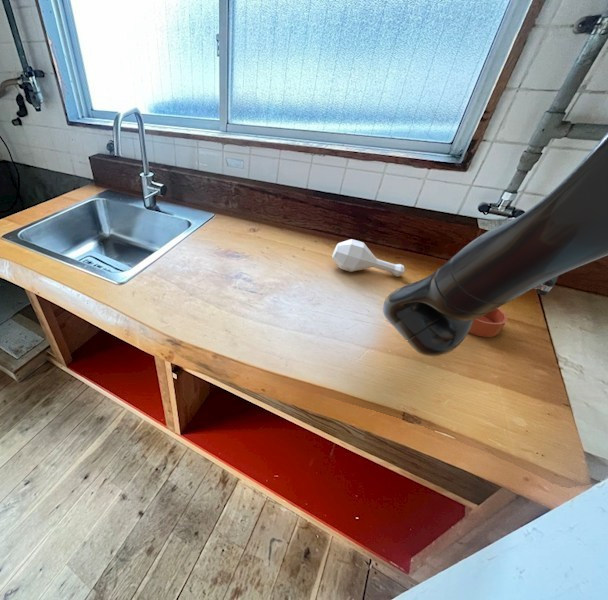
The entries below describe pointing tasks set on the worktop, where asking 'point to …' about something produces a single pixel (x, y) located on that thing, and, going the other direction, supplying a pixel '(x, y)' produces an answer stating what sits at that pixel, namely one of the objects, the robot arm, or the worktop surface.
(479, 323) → the can holder
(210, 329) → the worktop surface
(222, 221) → the worktop surface
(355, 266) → the chicken leg
